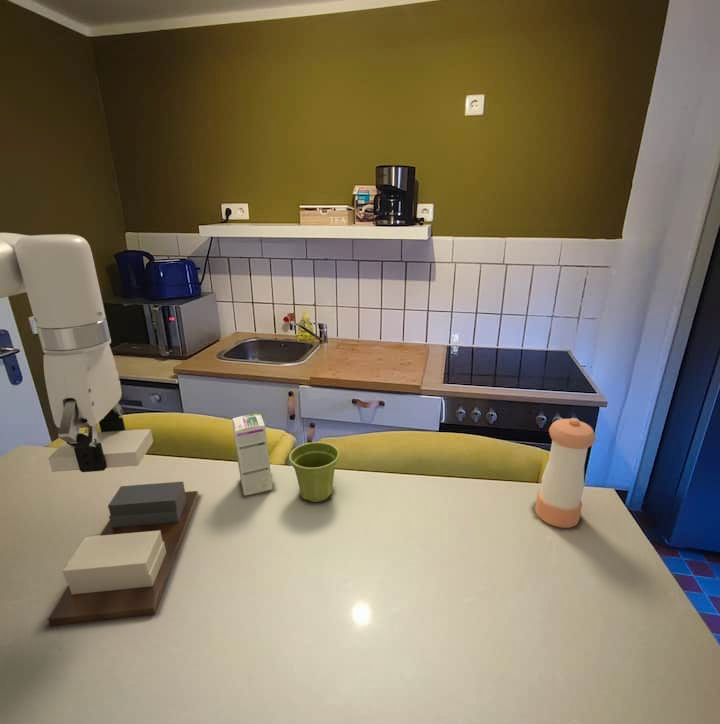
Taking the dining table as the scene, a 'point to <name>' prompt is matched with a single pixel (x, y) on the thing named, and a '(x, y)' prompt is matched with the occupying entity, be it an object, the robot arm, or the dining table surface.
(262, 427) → the syrup box
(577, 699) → the dining table surface
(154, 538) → the white stack
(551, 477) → the pepper shaker
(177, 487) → the grey stack
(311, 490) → the plant pot
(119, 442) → the white book
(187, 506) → the shelf board
